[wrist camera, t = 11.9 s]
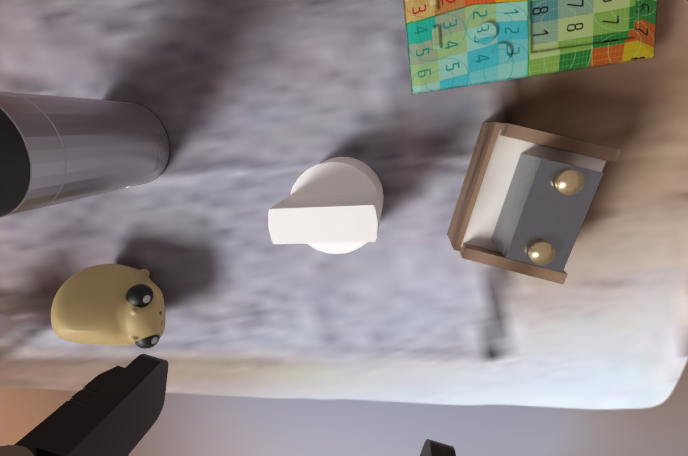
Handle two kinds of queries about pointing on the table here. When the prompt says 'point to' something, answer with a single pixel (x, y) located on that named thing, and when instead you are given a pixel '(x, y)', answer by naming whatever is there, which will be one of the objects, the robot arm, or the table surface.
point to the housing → (544, 211)
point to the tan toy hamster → (109, 307)
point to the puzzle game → (521, 38)
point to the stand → (493, 183)
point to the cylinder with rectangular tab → (330, 207)
